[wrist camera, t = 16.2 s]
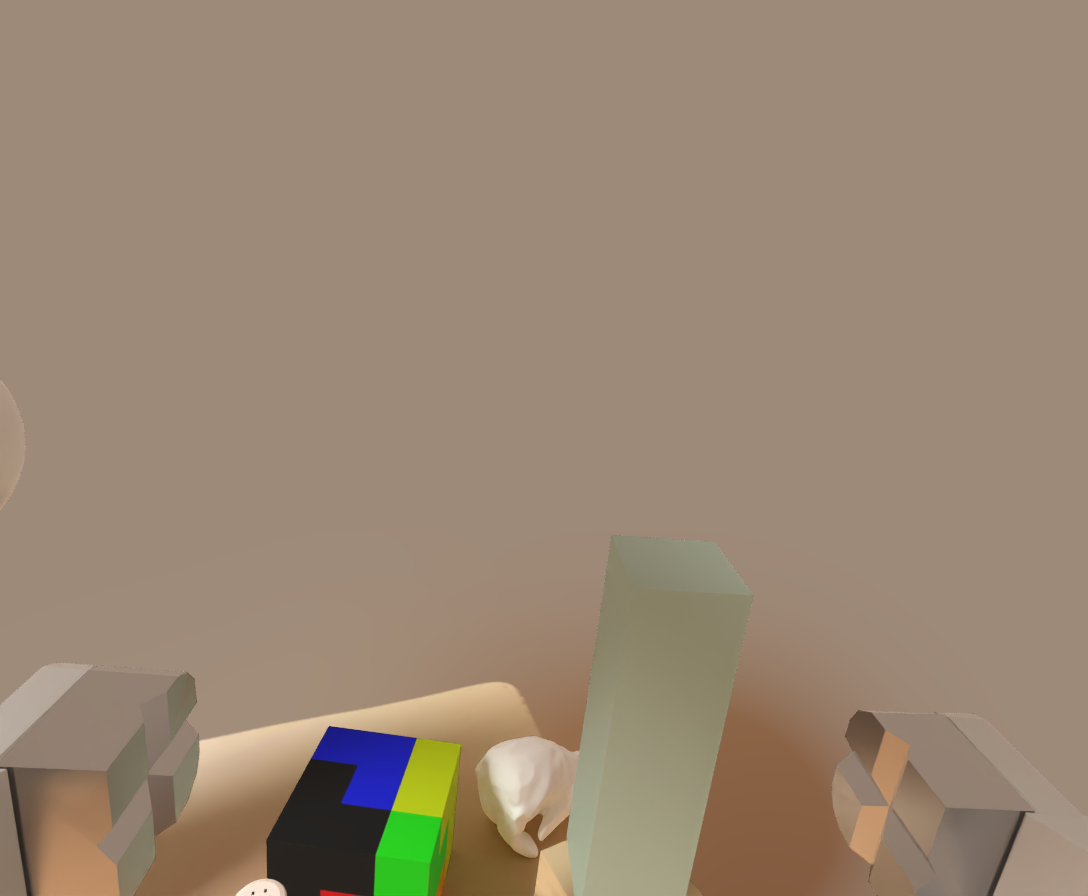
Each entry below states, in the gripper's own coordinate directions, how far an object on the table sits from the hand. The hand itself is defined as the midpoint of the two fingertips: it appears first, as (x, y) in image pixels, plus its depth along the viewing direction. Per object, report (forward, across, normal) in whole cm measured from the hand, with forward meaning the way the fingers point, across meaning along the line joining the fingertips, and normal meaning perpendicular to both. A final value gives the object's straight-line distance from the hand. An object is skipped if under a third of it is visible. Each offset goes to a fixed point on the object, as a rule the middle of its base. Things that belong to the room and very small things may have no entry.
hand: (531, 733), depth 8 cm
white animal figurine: (+37, -6, +40) cm, 55 cm away
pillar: (+22, -9, +28) cm, 37 cm away
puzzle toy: (+30, +7, +40) cm, 50 cm away
